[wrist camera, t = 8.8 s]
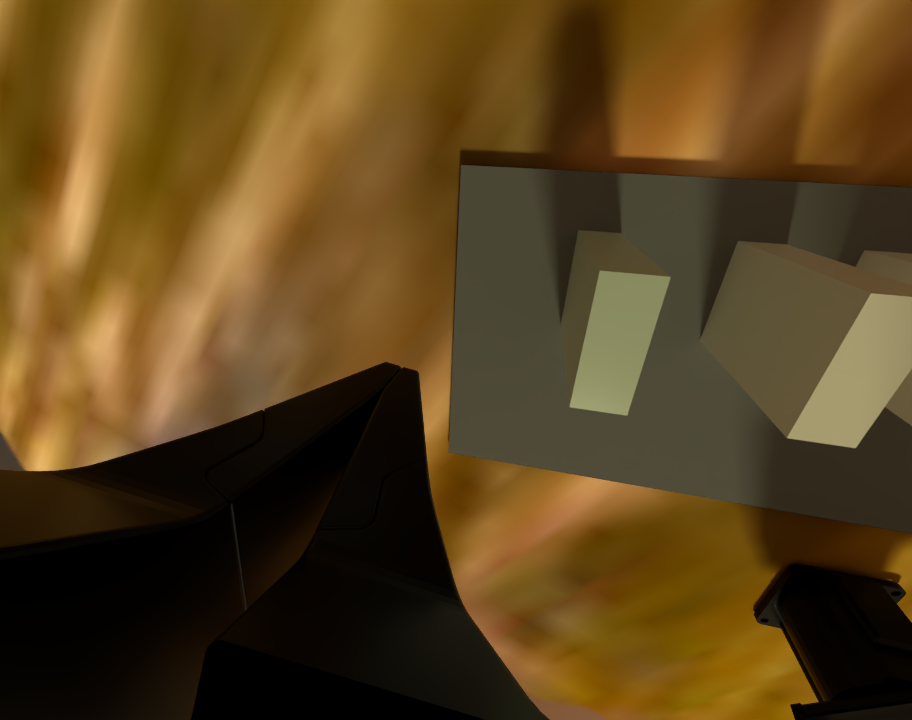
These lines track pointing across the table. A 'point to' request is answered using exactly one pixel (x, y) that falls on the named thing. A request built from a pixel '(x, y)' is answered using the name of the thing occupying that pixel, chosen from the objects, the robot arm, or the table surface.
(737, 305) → the domino
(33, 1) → the table surface
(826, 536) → the table surface
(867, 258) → the domino
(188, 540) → the robot arm
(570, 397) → the domino
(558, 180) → the mat
